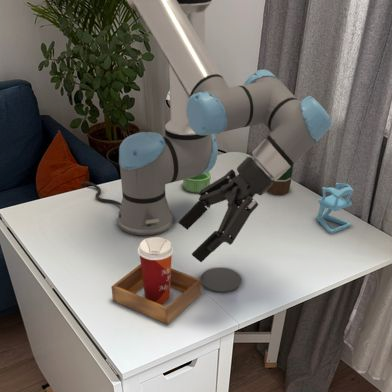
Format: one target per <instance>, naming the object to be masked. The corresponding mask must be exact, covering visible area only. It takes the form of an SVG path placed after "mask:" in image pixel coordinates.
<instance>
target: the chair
mask: <svg viewBox="0 0 392 392" xmlns="http://www.w3.org/2000/svg"><path fill="white" fill-rule="evenodd" d="M341 187H342V188H341ZM339 188H340V189H339ZM326 192H327V193H330V194H331V195H328V196H327V194H326ZM353 194H354V189H353V188H352V187H351V185H350V184H348V183H345V182H344V183H343V182H342V183H338V182H336V183H335V187H334V186H333V187H332V186H331V187H323V186H322V197H321V198H318V203H319V209H318V212H317V216H316V221H317V222H318V223H319V224H320V225H321V226H322V227H323V228H324V229H325V230H326V231H327V233H329V234H331V235H333V234H335V233H337V232H340V231H342V230H346V229H347V228H350V227H351V223H350V222H349V221H346V220H344V219H340V218H337V217H334V216H332V215H330V214H331V212H332V211H333V212H338V211H340V210H342V209H345V208H349V207H351V206H352V204H353V202H352V201H350V199H351V196H352V195H353ZM346 195H347V197H346V199H345V198H344V197H345V196H346ZM324 211H325V212H324ZM324 219H325V220H327V221H331V222H334V223H337V224H340V226H337V227H335V228H331V227H330V226H329V225H328V223H327V222H326V221H325V220H324Z"/></svg>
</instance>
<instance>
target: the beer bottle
mask: <svg viewBox="0 0 392 392" xmlns="http://www.w3.org/2000/svg"><path fill="white" fill-rule="evenodd" d="M271 145H272V144H271ZM272 146H273V145H272ZM273 147H274V146H273ZM274 148H275V147H274ZM275 149H276V148H275ZM276 150H277V149H276ZM278 153H279V152H278ZM279 154H280V153H279ZM280 155H281V154H280ZM281 156H282V155H281ZM282 157H283V156H282ZM283 158H284V157H283ZM286 162H287V161H286ZM287 163H288V162H287ZM288 164H289V163H288ZM289 165H290V164H289ZM290 166H291V165H290ZM293 170H294V164H293V165H292V166H291V167H290V168H289V169H288V170H287V172H285V173H284V174H283V175H282V176H281V177H280V178H279V179H278V180H274V179H273V180H272V182H273V185H272V186H271V187H270V188H269V189H268V190H267V191H266V192H267V193H269V194H271V195H274V196H284V195H286V194H287V193H289V192H290V188H291V183H292V178H293Z"/></svg>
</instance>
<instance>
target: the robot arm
mask: <svg viewBox="0 0 392 392" xmlns="http://www.w3.org/2000/svg"><path fill="white" fill-rule="evenodd" d="M126 2H127V4H128V6H129V7H130V8H131V9H132V10H133V11H135V12H137V13H139V14H140V16H141V18H142V19H143V21H144V23H145V25H146V27H147V28H148V30H149V32H150V34H151V35H152V37H153V39H154V41H155V42H156V44H157V45H158V47H159V49H160V51H161V53H162V54H163V56H164V58H165V60H166V61H167V63H168V76H169V77H168V78H169V79H168V80H169V81H168V82H169V112H170V114H169V115H170V119H169V120H168V122H166V124H165V125H164V132H165V133H164V136H163V134H161V133H159V132H155V131H142V132H141V131H140V132H136V133H133V134H130V135H128V136H127V137H125V138H124V139H123V140H122V142H121V143H120V145H119V148H118V164H119V171H120V182H121V192H122V199H121V202H120V201H117V200H114V199H110V198H103V197H100V196H99V195H100V194H101V192H102V188H101V187H100V186H99V185H97V184H95V183H93V182H90V181H87V180H86V181H82V182H81V183H80V186H82V187H83V186H84V185H89V186H91V187H93V188H95V189H96V190H97V192H96V193H95V199H96V200H98V201H100V202H104V203H112V204H115V205H118V206H119V210H118V214H117V223H118V227H119V228H120V230H122V231H123V232H125V233H127V234H130V235H134V236H139V237H141V236H144V237H149V236H157V235H159V234H162V233H164V232H166V231H167V230H169V229H170V228H171V227H172V225H173V212H172V211H171V208H170V206H169V203H168V202H169V201H168V199H167V197H166V185H168V184H172V183H176V182H179V181H180V182H181V181H183V180H184V179H188V178H192V177H198V176H200V175H202V174H205V173H208V172H210V171H211V170H212V169H213V168H214V167H215V165H216V162H217V160H218V153H219V150H218V149H219V146H218V142H217V141H216V140H217V138H216V135H219V134H222V133H225V132H228V131H229V132H230V131H233V130H237V129H243V128H247V127H252V126H256V125H260V124H261V125H263V124H264V126H266V127H267V128H268V130H270V133H269V134H268V136H267V137H266V138H264V139H263V140H262V141H261V142H260V143H259V144H258V145H257V147H255V149H254V150H252V152H251V155H252V156H247V157H246V158H245V159H244V160H242V162H241V163H240V164H238V166H237V168H236V171H235V170H234V169H230V170H229V171H228V172H226V174H224V176H221V177H220V178H219V179H217V180H215V181H214V182H212V183H211V184H210V183H209V186H207V187H205V188H204V189H202V190H201V191H200V192H198V195H199V197H198V201H197V202H196V203H195V204H194V205H193V206H192V207H191V208H190V209H189V210H188V211H187V212H186V213H185V214H184V215H183V216H182V217H181V218H180V219H179V220H178V224H179V225H181V226H182V227H183V228H184V229H185V230H187V231H188V230H189V229H190V228H191V227H192V226H193V225H194V224H195V223H196V222H197V221H198V220H199V219H200V218H201V217H202V216H203V215H204V214H205V213H206V212H207V211H208V209H210V208H211V206H213V205H216V204H219V203H222V202H224V201H227V209H226V212H225V214H224V216H223V218H222V221H221V223H220V224H219V227H218V230H215V231H213V232H212V233H210V235H209V236H208V237H206V239H205V240H204V241H203V242H202V243H201V244H200V245H199V246H198V247H196V249H195V250H193V252H192V253H191V256H192V257H194V258H195V259H196V260H197V261H199V262H200V263H203V261H205V260H206V259H207V257H209V256H211V254H212V253H213V252H215V251H216V250H217V249H218V248H219V247H220V246H221V245H222V244H223V243H226V244H228V245H233V243H234V242H235V240H236V239H237V237H238V235H239V234H240V232H241V230H242V228H243V227H244V226H245V224H246V222H247V221H248V219H249V218H250V216H251V214H252V213H253V212H254V211H255V210H256V209H257V207H258V206H259V203H258V202H257V201H256V200H255V199H254V197H255V196H256V195H259V196H263V195H264V194H265V193H266V192H267V190H268V189H269V188H270V187H271V186H272V185H273V182H272V180H273V179H274V180H278V179H279V178H280V177H281V176H282V175H283V174H284V173H285V172H287V170H288V169H289V168H290V167H291V166H292V165H293V166H294V164H295V163H296V162H298V160H300V158H302V156H304V155H305V154H306V153H307V152H308V151H309V150H310V149H311V148H312V147H313V146H315V145H316V144H317V143H319V141H320V140H321V138H323V137H324V135H325V134H326V133H327V132H328V131H329V130H330V128H331V127H332V126H333V125H332V123H333V122H332V118H331V116H330V115H329V114H328V112H327V111H326V109H325V108H324V107H323V106H322V104H320V102H318V100H316V99H315V98H314V97H313V96H311V95H308V96H305V98H304V99H302V100H300V99H298V98H297V97H296V96H295V95H294V93H292V92H291V91H290V90H289V88H287V86H286V85H285V84H284V82H283V81H282V80H281V79H280V78H279V77H277V76H276V75H275V74H274V73H272V72H271V71H270V70H267V69H259V70H256V71H255V73H252V74H250V75H249V76H248V77H247V79H246V80H245V81H244V84H242V85H236V86H229V85H228V83H227V82H226V80H225V78H224V76H222V73H221V71H220V70H219V69H218V66H217V65H216V64H215V62H214V60H213V59H212V57H211V55H210V54H209V52H208V50H207V49H206V47H205V28H206V27H205V24H206V21H205V20H206V15H205V13H206V10H207V8H208V7H209V6H210V5H211V4H212V0H126ZM272 145H273V146H274V147H275V148H276V149H277V150H276V149H275V148H274V147H273V146H272ZM278 152H279V153H280V154H281V155H282V156H283V157H284V158H283V157H282V156H281V155H280V154H279V153H278ZM286 161H287V162H288V163H289V164H290V165H291V166H290V165H289V164H288V163H287V162H286ZM236 172H237V173H236Z"/></svg>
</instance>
